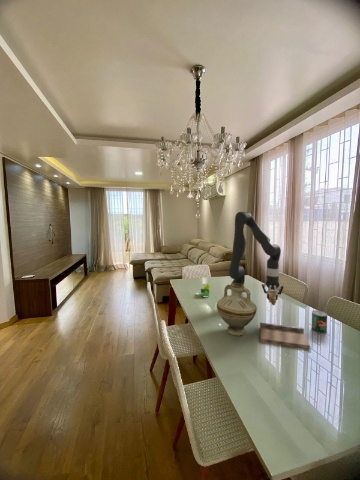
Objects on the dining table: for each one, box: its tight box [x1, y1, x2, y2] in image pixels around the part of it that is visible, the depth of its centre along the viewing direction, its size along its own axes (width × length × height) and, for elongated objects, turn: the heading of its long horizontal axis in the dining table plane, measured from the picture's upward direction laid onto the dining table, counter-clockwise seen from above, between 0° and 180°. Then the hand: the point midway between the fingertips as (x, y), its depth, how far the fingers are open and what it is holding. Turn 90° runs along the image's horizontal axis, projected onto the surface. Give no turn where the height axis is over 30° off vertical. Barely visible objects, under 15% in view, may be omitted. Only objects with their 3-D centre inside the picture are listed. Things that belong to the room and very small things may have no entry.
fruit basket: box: [200, 283, 211, 297], centre depth 193 cm, size 11×9×11 cm
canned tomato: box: [311, 310, 328, 335], centre depth 128 cm, size 8×8×11 cm
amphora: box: [216, 283, 258, 337], centre depth 129 cm, size 24×24×30 cm
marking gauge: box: [268, 290, 277, 306], centre depth 138 cm, size 4×12×7 cm, turn 161°
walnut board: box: [259, 322, 311, 350], centre depth 122 cm, size 24×16×4 cm, turn 70°
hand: (272, 299), depth 141 cm, fingers closed on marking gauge, 4 cm apart
